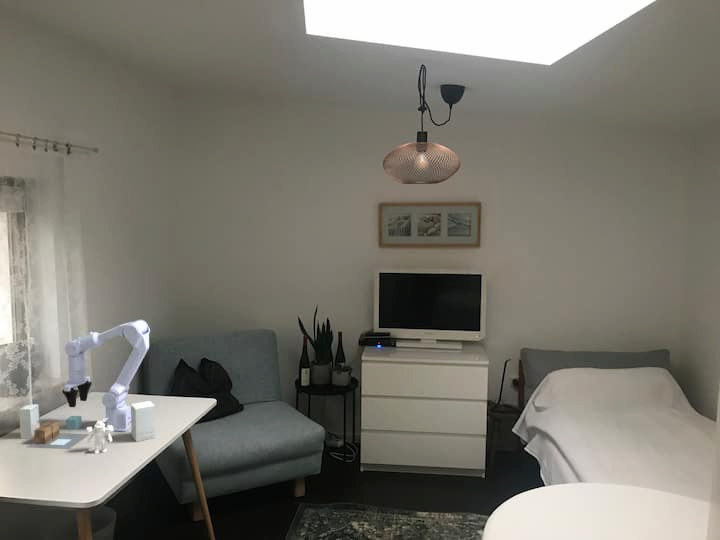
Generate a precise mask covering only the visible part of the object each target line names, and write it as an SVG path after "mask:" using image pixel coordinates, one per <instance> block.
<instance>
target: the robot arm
mask: <svg viewBox="0 0 720 540" xmlns="http://www.w3.org/2000/svg"><path fill="white" fill-rule="evenodd" d="M150 332H151V329H150V326H149V325H148V323H147V322H146V321H145V320H144V319H137V320H135V321H129V322H126V323H123V324H120V325H116V326H115V327H113V328H110V329H108V330H106V331H103V332H101V333H99V332H93V331H91V332H88V333H87V335H84V336H82V337H81V336H78V337H77V338H76V339H74V340H70V341H68V342H67V343H66V344H65V347H64V351H65V353H66V355H67V358H68V359H67V361H68V362H67V363H68V380H66V384H65V385H63V389H62V390H61V391H62V394H63V395H64V396H65V399H66V401H67V403H68V406H69V408H76V406H77V396H78V395H79V400H80V402H86V401H87V399H88V394H89V391H90V388H91V386H92V385H93V382H92V381H91V378H90V377H91V376H90V375H86V368H85V367H86V364H85V362H86V360H85V359H86V358H85V352H87V351H91V350H92V349H96V348H97V347H98V348H99V347H100V346H101V345H102V343H103V342H104V341H107V340H109V339H112V338H114V337H118V336H119V337H121V338H124V337H125V339H126V340H127V341H128V342H129V344H130V345H131V347H132V350H131V353H130V354H129V356H128V358H127V360H126V361H125V363H124V365H123V368H122V369H121V371H120V373H119V374H118V377H117V378H116V380H115V382H114V383H113V384H112V386H111V387H110V388H109V390H108V391H107V392H106V393H104V394H103V395H102V399H101V402H102V404H103V406H104V407H105V418H107V417H108V419H107V420H106V421H105V428H107V425H110V426H111V425H112V427H113V432H126V431H127V430H128V429H131V405H127V404H126V399H127V398H128V395H129V390H130V384H131V382H132V380H133V379H134V377H135V374H136V373H137V371H138V369H139V367H140V366H141V364H142V362H143V359H144V358H145V357H146V354H147V353H148V351H149V348H150ZM76 387H77V389H75V388H76Z"/></svg>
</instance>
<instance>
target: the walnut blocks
mask: <svg viewBox="0 0 720 540" xmlns="http://www.w3.org/2000/svg"><path fill="white" fill-rule="evenodd" d="M59 433H60V422H59V421H47V422H46V423H44V424H42V425H40V427H39V428H37V429H35V430H34V435H35V437H34V442H35V444H46V443H48V442H49V441H51V440H52V439H54V438H56V437H57V436H59Z"/></svg>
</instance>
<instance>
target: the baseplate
mask: <svg viewBox="0 0 720 540" xmlns="http://www.w3.org/2000/svg"><path fill="white" fill-rule="evenodd" d="M88 434H89V433H88ZM88 434H87V433H73V432H72V433H70V432H69V433H68V432H67V433H66V432H59V436H57V437H56V438H54V439H52V440H51V441H49V442H48V443H46V444H35V441H34V442H32V443H31V444H29V445H27V446H26V448H33V449H35V448H36V449H55V450H56V449H59V450H60V449H61V450H70V449H71V448H73V447H74V446H76V445H77V444H79V443H80V442H81V441H83V440H84V439H86V438H87V437H90V435H88Z"/></svg>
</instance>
